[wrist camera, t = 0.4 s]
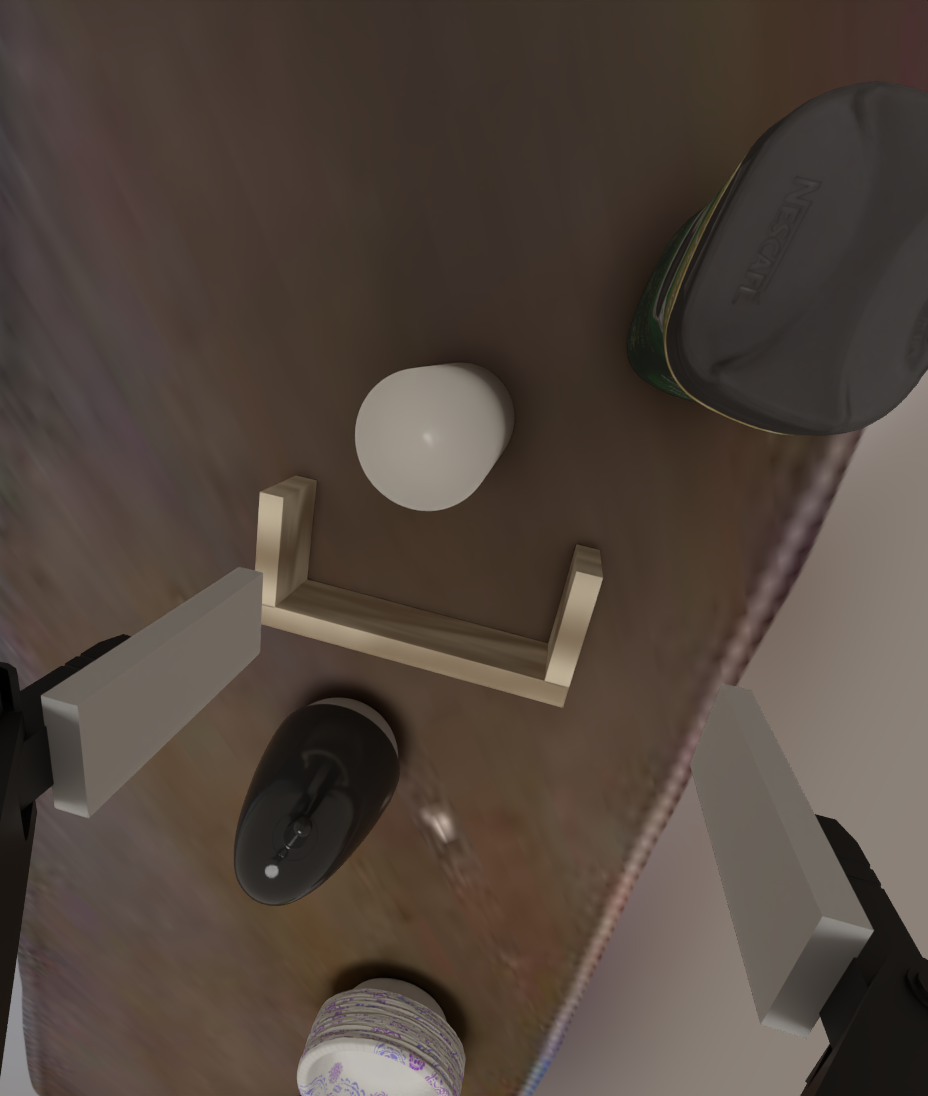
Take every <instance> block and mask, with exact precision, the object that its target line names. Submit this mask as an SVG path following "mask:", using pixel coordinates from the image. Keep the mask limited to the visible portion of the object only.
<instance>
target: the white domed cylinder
mask: <svg viewBox="0 0 928 1096" xmlns="http://www.w3.org/2000/svg"><path fill="white" fill-rule="evenodd" d="M514 417H515V416H514V408H513V403H512V400H511V397H510V395H509V393H508V391H507V389H506V387H505V386H504V385H503V383H502V382H501V381H500V380H499V379H498V378H497V377H496V376H495V375H494V374H493V373H492V372H490V371H488V370H487V369H485V368H483V367H481V366H479V365H475V364H472V363H465V362H457V363H449V364H442V365H434V366H426V367H418V368H411V369H405V370H402V371H398V372H396V373H394V374H392V375H389V376H388V377H386V378H385V379H383V380H382V381H381V382H379V383H378V384H377V385H376V386H375V387H374V388H373V389H372V390H371V391H370V393H369V394H368V395H367V397H366V398H365V400H364V402H363V404H362V406H361V408H360V411H359V414H358V417H357V422H356V427H355V443H356V450H357V455H358V458H359V461H360V464H361V466H362V468H363V470H364V472H365V474H366V475H367V477H368V479H369V480H370V481H371V483H372V484H373V485H374V486H375V487H376V488H377V489H378V490H379V491H380V492H381V493H382V494H383V495H384V496H386V497H387V498H388V499H390V500H391V501H393V502H395V503H397V504H399V505H401V506H403V507H406V508H410V509H414V510H419V511H436V510H442V509H446V508H449V507H452V506H454V505H456V504H458V503H460V502H462V501H463V500H465V499H466V498H468V497H469V496H470V495H471V494H472V493H473V492H474V491H475V490H476V489H477V488H478V487H479V485H480V484H481V483H482V481H483V480H484V478H485V477H486V476H487V474H488V473H489V471H490V470H491V468H492V467H493V466H494V464H495V463H496V461H497V460H498V458H499V457H500V456H501V454H502V453H503V451H504V450H505V448H506V447H507V445H508V443H509V441H510V439H511V436H512V433H513V428H514Z"/></svg>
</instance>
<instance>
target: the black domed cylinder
mask: <svg viewBox="0 0 928 1096" xmlns="http://www.w3.org/2000/svg"><path fill="white" fill-rule="evenodd" d="M399 774H400V767H399V760H398V749H397V744H396V740H395V737H394V734H393V732H392V730H391V728H390V727H389V725H388V724H387V722H386V721H385V720H384V718H383V717H382V716H381V715H380V714H379V713H378V712H376V711H375V710H374V709H373V708H371V707H370V706H368V705H366V704H364V703H362V702H359V701H356V700H353V699H348V698H328V699H323V700H320V701H317V702H314V703H312V704H310V705H308V706H306V707H303V708H300V709H298V710H296V711H295V712H293V713H292V714H290V715H289V716H288V717H287V718H286V719H285V720H284V721H283V723H282V724H281V725H280V726H279V728H278V729H277V731H276V732H275V734H274V735H273V737H272V739H271V740H270V742H269V744H268V746H267V748H266V750H265V752H264V754H263V756H262V758H261V760H260V762H259V764H258V766H257V769H256V771H255V773H254V776H253V778H252V781H251V783H250V786H249V789H248V792H247V795H246V797H245V800H244V803H243V806H242V810H241V813H240V816H239V820H238V825H237V829H236V835H235V842H234V869H235V875H236V878H237V881H238V883H239V885H240V886H241V888H242V889H243V891H244V892H245V893H246V894H247V895H248V896H249V897H250V898H252V899H253V900H255V901H257V902H259V903H261V904H264V905H269V906H282V905H286V904H290V903H292V902H295V901H297V900H299V899H301V898H303V897H304V896H306V895H308V894H309V893H311V892H312V891H314V890H315V889H317V888H318V887H319V886H321V885H322V884H323V883H324V882H325V881H327V880H328V879H329V878H330V877H331V876H332V875H333V874H334V873H335V872H336V871H337V870H338V869H339V868H340V867H341V866H342V865H343V864H344V863H345V862H346V860H347V859H348V858H349V857H350V856H351V855H352V854H353V852H354V851H355V850H356V849H357V848H358V847H359V845H360V844H361V843H362V842H363V841H364V839H365V838H366V837H367V835H368V834H369V833H370V831H371V830H372V829H373V827H374V826H375V824H376V823H377V821H378V820H379V818H380V817H381V815H382V814H383V812H384V811H385V809H386V807H387V806H388V804H389V802H390V800H391V799H392V796H393V794H394V792H395V790H396V787H397V784H398V781H399Z"/></svg>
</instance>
